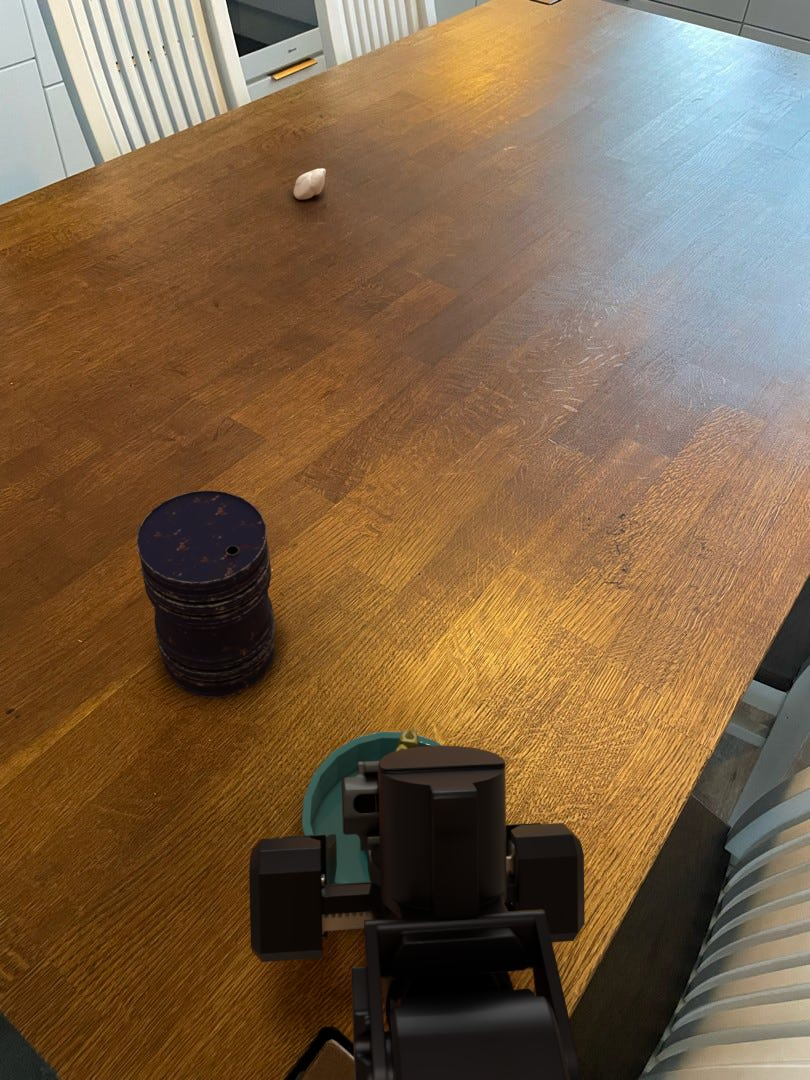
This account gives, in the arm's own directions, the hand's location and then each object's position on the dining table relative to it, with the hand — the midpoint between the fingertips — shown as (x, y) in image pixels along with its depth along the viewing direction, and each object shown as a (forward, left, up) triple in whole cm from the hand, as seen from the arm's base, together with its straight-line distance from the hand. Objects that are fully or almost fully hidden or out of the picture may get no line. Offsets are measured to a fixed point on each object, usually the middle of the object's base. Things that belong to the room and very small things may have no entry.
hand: (402, 838), depth 59 cm
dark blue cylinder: (+21, +15, -9) cm, 27 cm away
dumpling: (+108, +12, -9) cm, 109 cm away
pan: (+4, 0, -8) cm, 9 cm away
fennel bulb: (+4, 0, -8) cm, 9 cm away
